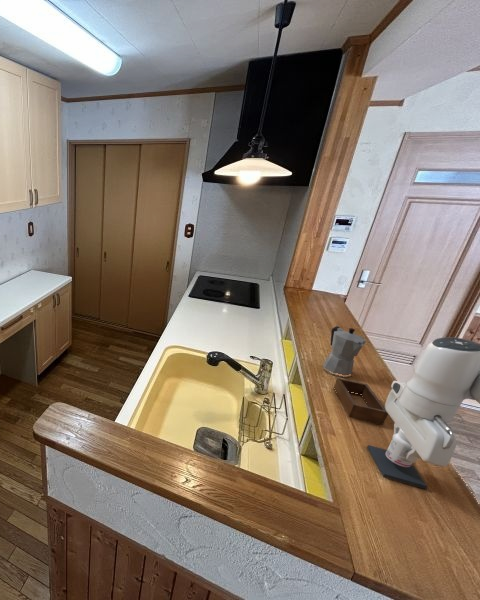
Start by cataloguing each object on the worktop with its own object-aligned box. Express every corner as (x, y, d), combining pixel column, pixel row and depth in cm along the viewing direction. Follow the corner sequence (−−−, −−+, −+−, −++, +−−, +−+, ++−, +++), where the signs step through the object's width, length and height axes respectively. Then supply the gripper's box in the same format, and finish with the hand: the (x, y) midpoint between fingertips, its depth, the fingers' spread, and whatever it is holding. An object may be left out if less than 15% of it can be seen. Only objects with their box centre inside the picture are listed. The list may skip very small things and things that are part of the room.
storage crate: (362, 395, 109) (367, 384, 107) (383, 425, 95) (388, 412, 94) (333, 388, 112) (337, 377, 110) (348, 416, 98) (353, 404, 96)
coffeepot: (361, 382, 116) (380, 338, 110) (334, 380, 117) (351, 335, 111) (334, 360, 130) (349, 319, 124) (310, 358, 131) (323, 317, 125)
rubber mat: (404, 457, 84) (405, 454, 83) (425, 489, 75) (427, 486, 75) (366, 447, 86) (368, 444, 86) (383, 476, 78) (384, 473, 77)
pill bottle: (415, 464, 79) (430, 437, 76) (404, 470, 77) (419, 442, 74) (391, 450, 83) (404, 423, 80) (380, 455, 81) (393, 428, 78)
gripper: (477, 439, 64) (446, 489, 69) (420, 383, 82) (399, 427, 86) (435, 429, 66) (408, 479, 71) (389, 377, 84) (370, 420, 89)
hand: (403, 450), depth 79 cm, fingers closed on pill bottle, 5 cm apart
